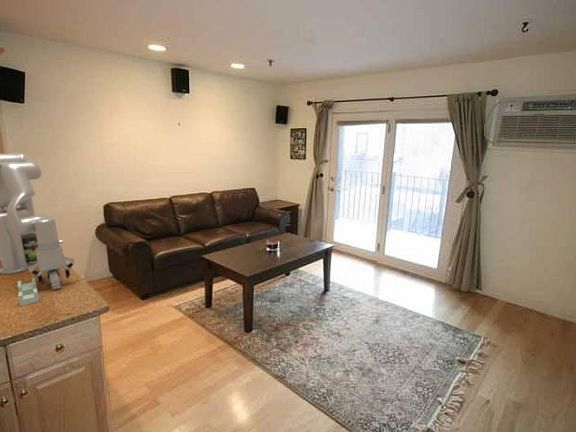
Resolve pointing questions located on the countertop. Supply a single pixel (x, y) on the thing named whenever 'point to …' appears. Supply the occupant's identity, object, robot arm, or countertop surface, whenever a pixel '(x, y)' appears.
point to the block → (49, 277)
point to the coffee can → (30, 247)
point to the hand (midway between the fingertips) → (55, 280)
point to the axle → (54, 279)
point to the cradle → (27, 293)
